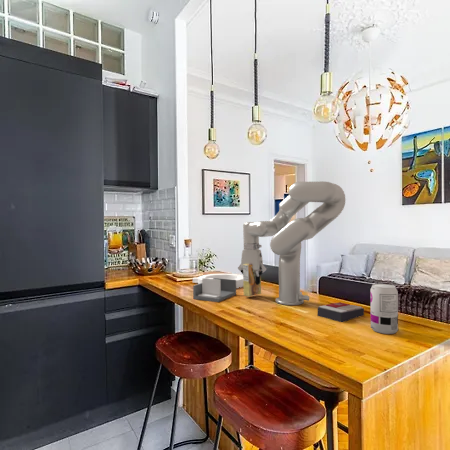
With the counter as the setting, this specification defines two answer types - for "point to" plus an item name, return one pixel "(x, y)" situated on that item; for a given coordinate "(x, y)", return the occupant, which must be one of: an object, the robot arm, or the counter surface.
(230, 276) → the ring with crossbar
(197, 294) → the shelf
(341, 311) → the dark grey flat box
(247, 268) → the candy box
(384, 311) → the supplement can
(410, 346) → the counter surface
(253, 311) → the counter surface
